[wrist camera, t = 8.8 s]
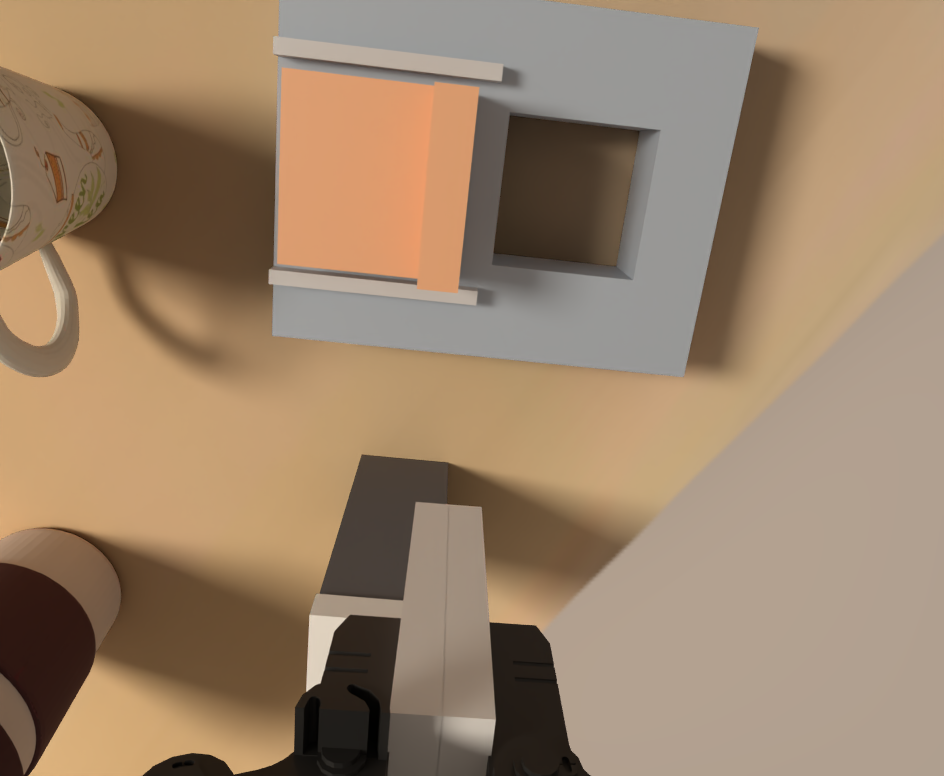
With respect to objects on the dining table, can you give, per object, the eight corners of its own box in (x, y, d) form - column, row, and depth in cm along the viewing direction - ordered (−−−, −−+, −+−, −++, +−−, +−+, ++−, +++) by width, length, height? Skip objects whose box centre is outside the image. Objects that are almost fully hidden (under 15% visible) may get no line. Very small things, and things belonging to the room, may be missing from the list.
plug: (359, 452, 37) (294, 664, 22) (450, 461, 37) (445, 675, 22) (354, 532, 38) (289, 780, 23) (441, 540, 38) (431, 790, 24)
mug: (102, 34, 30) (-59, -14, 21) (204, 320, 34) (107, 389, 25) (-84, 81, 31) (-324, 55, 21) (38, 357, 35) (-119, 439, 25)
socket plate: (299, -14, 30) (274, -39, 26) (726, 39, 31) (767, 24, 27) (289, 316, 34) (267, 340, 30) (662, 354, 35) (689, 382, 31)
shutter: (292, 71, 27) (267, 61, 24) (476, 93, 28) (479, 87, 24) (287, 256, 30) (263, 272, 26) (457, 274, 30) (457, 293, 26)
